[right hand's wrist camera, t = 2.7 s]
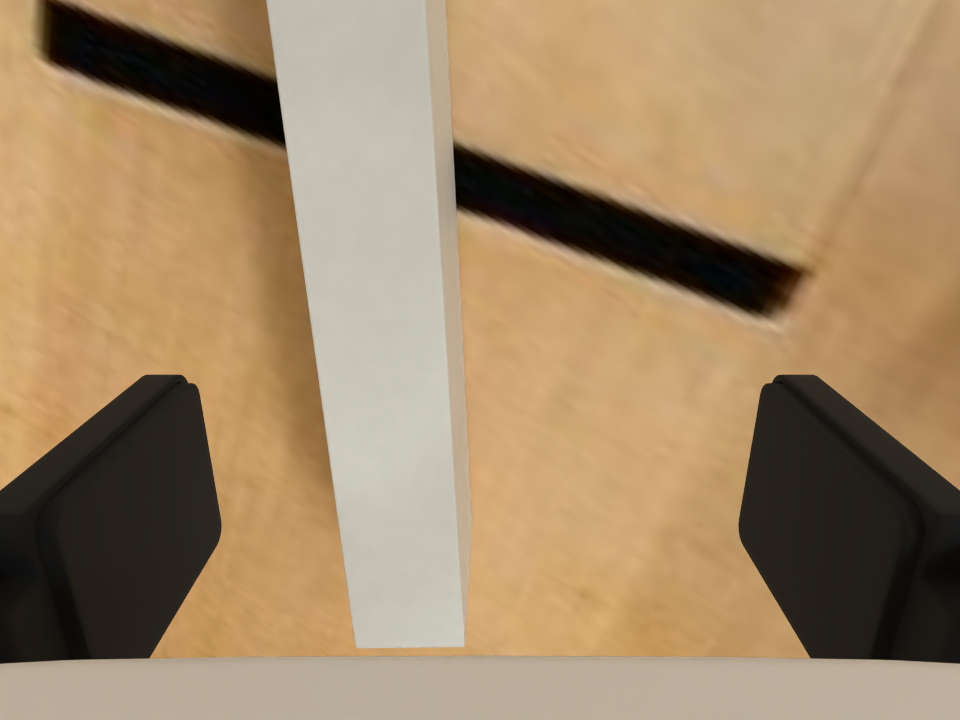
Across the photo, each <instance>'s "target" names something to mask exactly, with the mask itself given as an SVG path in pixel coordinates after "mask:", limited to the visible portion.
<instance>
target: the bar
mask: <svg viewBox="0 0 960 720" xmlns="http://www.w3.org/2000/svg"><path fill="white" fill-rule="evenodd" d="M266 4H267V11H268V18H269V25H270V33H271V40H272V47H273V54H274V62H275V69H276V76H277V83H278V90H279V98H280V105H281V112H282V119H283V127H284V134H285V141H286V148H287V155H288V163H289V170H290V177H291V184H292V192H293V199H294V206H295V213H296V221H297V228H298V235H299V242H300V249H301V257H302V264H303V271H304V278H305V286H306V293H307V300H308V307H309V314H310V322H311V329H312V336H313V343H314V351H315V358H316V365H317V372H318V379H319V387H320V394H321V401H322V408H323V416H324V423H325V430H326V437H327V444H328V452H329V459H330V466H331V473H332V481H333V488H334V495H335V502H336V510H337V517H338V524H339V531H340V538H341V546H342V553H343V560H344V567H345V575H346V582H347V589H348V596H349V603H350V611H351V618H352V625H353V632H354V640H355V646H356V648H420V647H464V645H465V634H466V618H467V601H468V585H469V569H470V552H471V536H472V509H471V489H470V469H469V450H468V430H467V410H466V391H465V371H464V352H463V332H462V312H461V293H460V273H459V253H458V234H457V214H456V195H455V175H454V155H453V136H452V116H451V96H450V77H449V57H448V38H447V18H446V0H266Z"/></svg>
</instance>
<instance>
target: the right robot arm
mask: <svg viewBox="0 0 960 720" xmlns="http://www.w3.org/2000/svg"><path fill="white" fill-rule="evenodd" d="M220 535H221V517H220V511H219V505H218V500H217V494H216V488H215V482H214V476H213V470H212V464H211V458H210V452H209V446H208V441H207V435H206V429H205V423H204V417H203V411H202V405H201V399H200V394H199V390H198V388H197V386H196V385H195V384H192V383H188V382H187V380H186V378H185V377H184V376H183V375H145V376H143V377H141V378H140V379H139V380H138V381H136V382H135V383H134V384H133V385H131V386H130V387H129V388H128V389H126V390H125V391H124V392H123V393H121V394H120V395H119V396H118V397H116V398H115V399H114V400H113V401H111V402H110V403H109V404H108V405H106V406H105V407H104V408H103V409H101V410H100V411H99V412H98V413H96V414H95V415H94V416H93V417H91V418H90V419H89V420H88V421H86V422H85V423H84V424H83V425H82V426H80V427H79V428H78V429H77V430H75V431H74V432H73V433H72V434H70V435H69V436H68V437H67V438H65V439H64V440H63V441H62V442H60V443H59V444H58V445H57V446H55V447H54V448H53V449H52V450H50V451H49V452H48V453H47V454H45V455H44V456H43V457H42V458H40V459H39V460H38V461H37V462H35V463H34V464H33V465H32V466H30V467H29V468H28V469H27V470H25V471H24V472H23V473H22V474H20V475H19V476H18V477H17V478H15V479H14V480H13V481H12V482H10V483H9V484H8V485H7V486H5V487H4V488H3V489H2V490H1V491H0V720H960V491H959V490H958V489H957V488H956V487H955V486H953V485H952V484H951V483H950V482H948V481H947V480H946V479H945V478H943V477H942V476H941V475H940V474H938V473H937V472H936V471H935V470H933V469H932V468H931V467H930V466H928V465H927V464H926V463H925V462H923V461H922V460H921V459H920V458H918V457H917V456H916V455H915V454H913V453H912V452H911V451H910V450H908V449H907V448H906V447H905V446H903V445H902V444H901V443H900V442H898V441H897V440H896V439H895V438H893V437H892V436H891V435H890V434H888V433H887V432H886V431H885V430H883V429H882V428H881V427H880V426H878V425H877V424H876V423H875V422H874V421H872V420H871V419H870V418H869V417H867V416H866V415H865V414H864V413H862V412H861V411H860V410H859V409H857V408H856V407H855V406H854V405H852V404H851V403H850V402H849V401H847V400H846V399H845V398H844V397H842V396H841V395H840V394H839V393H837V392H836V391H835V390H834V389H832V388H831V387H830V386H829V385H827V384H826V383H825V382H824V381H822V380H821V379H820V378H819V377H817V376H815V375H777V376H776V377H775V378H774V380H773V382H772V383H768V384H765V385H764V386H763V388H762V390H761V394H760V399H759V405H758V411H757V417H756V423H755V429H754V435H753V441H752V446H751V452H750V458H749V464H748V470H747V476H746V482H745V488H744V494H743V500H742V505H741V511H740V517H739V535H740V539H741V542H742V544H743V546H744V548H745V549H746V551H747V553H748V554H749V556H750V558H751V559H752V561H753V563H754V564H755V566H756V568H757V569H758V571H759V573H760V574H761V576H762V578H763V579H764V581H765V583H766V584H767V586H768V588H769V589H770V591H771V593H772V594H773V596H774V598H775V599H776V601H777V603H778V604H779V606H780V608H781V609H782V611H783V613H784V614H785V616H786V618H787V619H788V621H789V623H790V624H791V626H792V628H793V629H794V631H795V633H796V634H797V636H798V638H799V640H800V641H801V643H802V645H803V646H804V648H805V650H806V651H807V653H808V655H809V656H810V658H811V659H808V658H753V657H652V656H308V657H207V658H152V659H149V658H150V656H151V655H152V653H153V651H154V650H155V648H156V646H157V645H158V643H159V641H160V640H161V638H162V636H163V634H164V633H165V631H166V629H167V628H168V626H169V624H170V623H171V621H172V619H173V618H174V616H175V614H176V613H177V611H178V609H179V608H180V606H181V604H182V603H183V601H184V599H185V598H186V596H187V594H188V593H189V591H190V589H191V588H192V586H193V584H194V583H195V581H196V579H197V578H198V576H199V574H200V573H201V571H202V569H203V568H204V566H205V564H206V563H207V561H208V559H209V558H210V556H211V554H212V553H213V551H214V549H215V548H216V546H217V544H218V542H219V539H220Z"/></svg>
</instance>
